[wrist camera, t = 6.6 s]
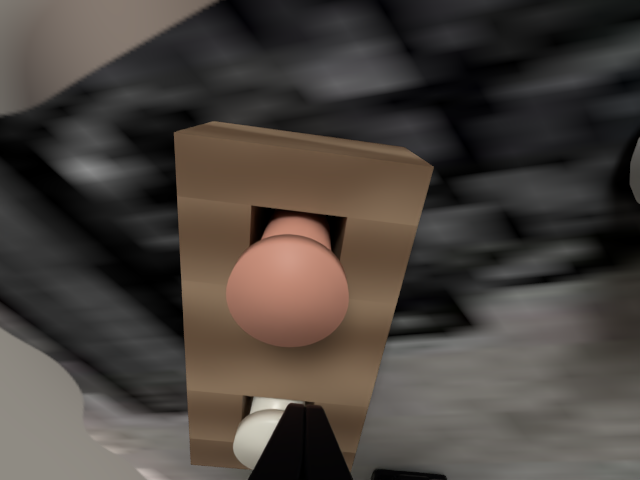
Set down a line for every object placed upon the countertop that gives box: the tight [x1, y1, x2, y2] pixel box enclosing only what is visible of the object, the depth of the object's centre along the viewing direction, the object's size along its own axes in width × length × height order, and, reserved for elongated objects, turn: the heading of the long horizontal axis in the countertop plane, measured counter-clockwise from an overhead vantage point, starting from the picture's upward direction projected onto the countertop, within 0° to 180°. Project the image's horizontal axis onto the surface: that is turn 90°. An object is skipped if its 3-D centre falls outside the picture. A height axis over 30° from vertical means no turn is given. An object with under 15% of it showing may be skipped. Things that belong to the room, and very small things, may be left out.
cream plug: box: [233, 396, 305, 470], centre depth 20 cm, size 4×4×6 cm
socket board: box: [174, 121, 434, 472], centre depth 19 cm, size 20×10×5 cm, turn 173°
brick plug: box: [226, 209, 349, 347], centre depth 14 cm, size 4×4×6 cm
